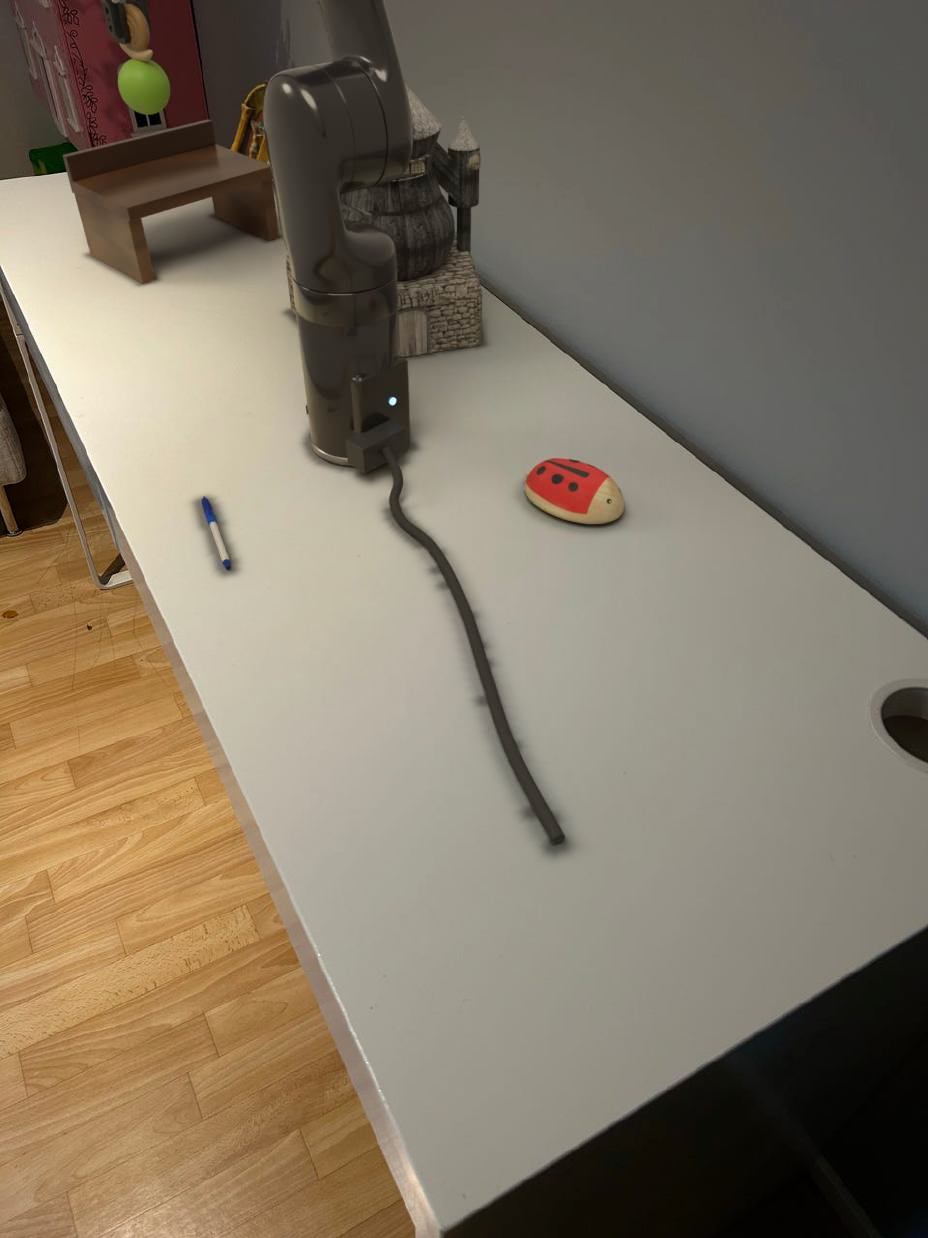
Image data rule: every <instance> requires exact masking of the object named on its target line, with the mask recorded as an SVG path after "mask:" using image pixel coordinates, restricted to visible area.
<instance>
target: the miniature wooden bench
mask: <svg viewBox="0 0 928 1238" xmlns="http://www.w3.org/2000/svg"><path fill="white" fill-rule="evenodd" d="M62 159H63V162H64V166H65V170H66V174H67V178H68V182H69V186H70V189H71V193H72V194H74V198H75V201H76V205H77V209H78V213H79V216H80V220H81V224H82V228H83V232H84V235H85V239H86V243H87V245H88V250H89V254H90V256H92V257H93V258H96V259H97V260H99V261H100V262H102V263H104V264H106V265H108V266H110V267H112V268H113V269H115V270H117V271H119V272H121V273H122V274H124V275H126V276H128V277H130V278H132V279H134V280H135V281H137V282H139V283H141V284H142V285H143V284H146V283H150V282H152V281H155V279H156V278H155V274H154V269H153V265H152V261H151V257H150V251H149V246H148V243H147V238H146V233H145V229H144V223H143V221H142V219H144V218H146V217H149V216H153V215H156V214H159V213H163V212H166V211H170V210H173V209H176V208H180V207H183V206H186V205H190V204H193V203H196V202H200V201H203V200H206V199H210V198H211V200H212V205H213V211H214V216H215V217H216V218H219V219H221V220H223V221H225V222H226V223H227V222H228V223H229V224H232V225H234V226H236V227H238V228H241V229H243V230H245V231H247V232H249V233H252V234H254V235H255V236H259V237H261V238H263V239H265V240H267V241H272V240H275V239H278V238H280V232H279V224H278V214H277V206H276V198H275V191H274V185H273V180H272V174H271V169H270V164H268V163H267V164H266V163H263V162H261V161H258V160H256V159H253V158H250V157H248V156H245V155H243V154H240V153H237V152H235V151H232V150H231V148H230V149H229V148H227V147H224V146H222V145H219V144H216V138H215V133H214V125H213V120H211V119H205V120H204V119H203V120H200V121H199V120H198V121H196V122H193V123H192V122H191V123H188V124H184V125H180V126H175V127H171V128H166V129H164V130H159V131H155V132H154V131H153V132H151V133H147V134H143V135H139V136H135V137H131V138H130V137H129V138H127V139H122V140H118V141H114V142H110V143H106V144H102V145H98V146H94V147H90V148H85V149H81V150H77V151H74V152H70V153H65V154H62Z"/></svg>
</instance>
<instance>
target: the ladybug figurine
mask: <svg viewBox="0 0 928 1238" xmlns="http://www.w3.org/2000/svg"><path fill="white" fill-rule="evenodd" d="M525 479H526V480H525V482H524V493H525V495H526V496H527V498H528V500H529V501H530V502H531V503H532V504H534V505H535V506H536V507H538V508H539V509H540V510H541V511H544V512H546V513H547V514H550V515H552V516H554V517H556V518H559V519H561V520H565V521H567V522H572V523H577V524H584V525H602V524H608V523H610V522H613V521H616V520H617V519H619V518H620V517H621V516H622V515H623V513H624V510H625V499H624V496H623V493H622V490H621V488H620V486H619V485H618V483H617V482H616V481H615V480H614V479H613V478H612V477H611V476H610V475H609V474H608V473H606V472H605V471H603V470H601V468H598V467H596V466H594V465H591V464H589V463H586V462H582V461H580V460H577V459H571V458H563V457H562V458H558V457H556V458H554V457H553V458H552V457H551V458H548V459H545V460H543V461H541V462H539V463H538V464H536V465H535V466H534V467H533V468H532V469H531V470H526V473H525Z"/></svg>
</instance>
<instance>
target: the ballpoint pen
mask: <svg viewBox="0 0 928 1238" xmlns="http://www.w3.org/2000/svg"><path fill="white" fill-rule="evenodd" d="M201 506H202V509H203V513H204V515H205V519H206V521H207V525H208V526H209V528H210V530H211V533H212V536H213V540H214V542H215V544H216V548H217V550H218V551H217V552H218V554H219V556H220V559H221V562H222V565H223V566H224V568H225V569H226V570H230V569H231V560H230V557H229V554H228V551H227V549H226V546H225V543H224V541H223V538H222V537H223V536H222V534H221V531H220V528H219V526H218V521H217V518H216V516H215V514H214V513H215V512H214V510H213V507H212V505H211V503H210V501H209V499H208V498H207V497H206V496H202V499H201Z"/></svg>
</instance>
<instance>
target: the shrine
mask: <svg viewBox="0 0 928 1238" xmlns="http://www.w3.org/2000/svg"><path fill="white" fill-rule="evenodd" d="M270 80H271V78H269V79H265V80H264V83H263V84H260V85H257V86H255V88H253V89H252V90H251V91H250V92H249V94H247V98H246V99H245V100H244V103H241V110H242V112H241V117H240V121H239V124H238V128H237V130H236V134H235V136H234V137H235V138H234V141H233V143H232V146H231V148H230V150H232V151H235V152H237V153H240V154H243V155H245V156H248V157H250V158H253V159H256V160H258V161H261V162H263V163H266V164H268V163H269V158H268V153H267V147H266V140H265V134H264V123H263V102H264V95H265V91H266V88H267V85H268V83H269V81H270Z"/></svg>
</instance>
